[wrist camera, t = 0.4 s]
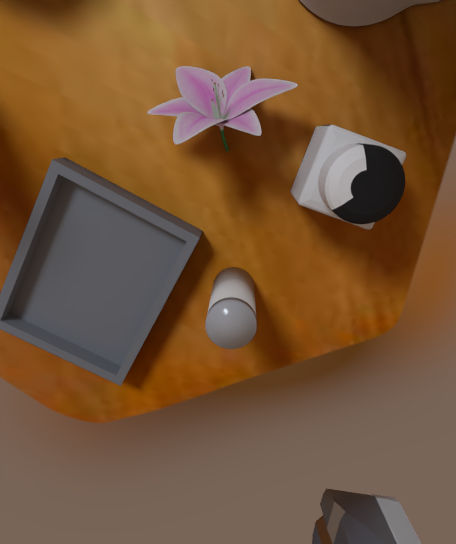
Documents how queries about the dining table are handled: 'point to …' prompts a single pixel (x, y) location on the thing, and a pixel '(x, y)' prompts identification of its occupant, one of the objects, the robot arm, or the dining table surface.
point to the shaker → (232, 309)
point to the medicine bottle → (349, 176)
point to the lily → (218, 101)
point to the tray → (93, 270)
